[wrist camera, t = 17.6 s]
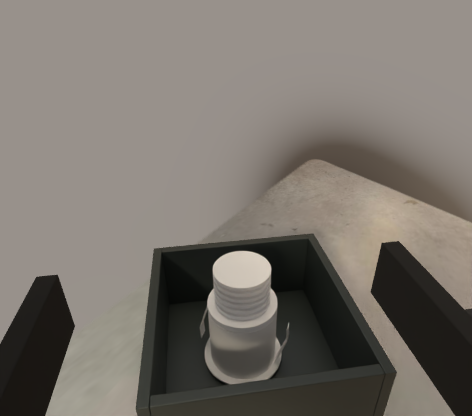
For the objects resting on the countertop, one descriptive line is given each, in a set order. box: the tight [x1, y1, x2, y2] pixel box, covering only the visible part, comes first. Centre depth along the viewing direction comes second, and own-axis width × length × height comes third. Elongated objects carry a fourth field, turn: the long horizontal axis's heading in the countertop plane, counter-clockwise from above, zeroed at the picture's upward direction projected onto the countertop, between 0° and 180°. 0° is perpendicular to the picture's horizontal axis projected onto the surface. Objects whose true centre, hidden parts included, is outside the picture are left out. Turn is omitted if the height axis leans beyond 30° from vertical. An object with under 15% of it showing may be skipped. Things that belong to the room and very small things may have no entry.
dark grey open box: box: [136, 234, 397, 416], centre depth 31 cm, size 17×17×8 cm
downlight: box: [200, 251, 289, 385], centre depth 30 cm, size 8×7×10 cm
